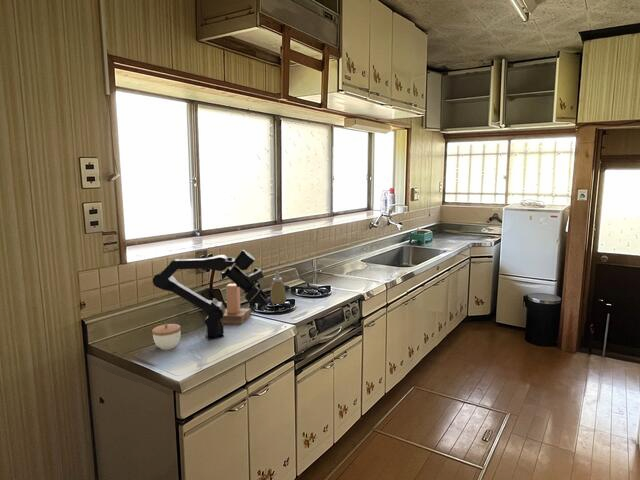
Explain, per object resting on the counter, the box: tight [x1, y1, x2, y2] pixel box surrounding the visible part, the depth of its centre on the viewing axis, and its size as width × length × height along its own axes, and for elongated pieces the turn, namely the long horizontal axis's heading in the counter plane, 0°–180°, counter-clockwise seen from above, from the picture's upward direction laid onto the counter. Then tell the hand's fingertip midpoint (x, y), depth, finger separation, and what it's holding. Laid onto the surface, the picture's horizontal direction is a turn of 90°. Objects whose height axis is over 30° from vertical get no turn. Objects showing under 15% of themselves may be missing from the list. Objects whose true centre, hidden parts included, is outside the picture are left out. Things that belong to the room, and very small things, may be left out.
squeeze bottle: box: [270, 271, 287, 305], centre depth 223 cm, size 8×8×18 cm
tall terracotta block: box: [225, 283, 241, 313], centre depth 204 cm, size 5×5×13 cm
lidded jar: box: [151, 323, 182, 351], centre depth 174 cm, size 11×11×9 cm
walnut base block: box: [220, 307, 252, 325], centre depth 205 cm, size 12×12×4 cm
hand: (267, 301), depth 184 cm, fingers open, 9 cm apart
